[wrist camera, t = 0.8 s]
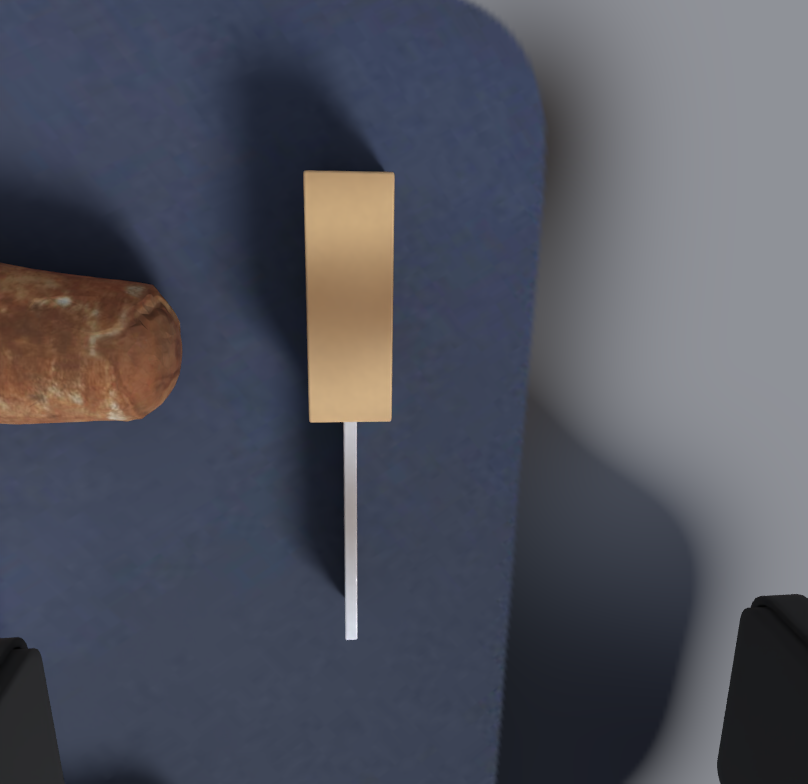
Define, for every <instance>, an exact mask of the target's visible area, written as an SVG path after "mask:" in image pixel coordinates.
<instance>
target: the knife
mask: <svg viewBox="0 0 808 784" xmlns="http://www.w3.org/2000/svg"><path fill="white" fill-rule="evenodd" d="M303 185H304V227H305V269H306V312H307V354H308V396H309V421H310V422H343V453H344V567H345V639H346V640H355V639H357V422H383V421H391V419H392V339H393V257H394V173H393V172H372V171H315V170H305V171H304V172H303Z"/></svg>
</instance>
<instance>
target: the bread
mask: <svg viewBox="0 0 808 784" xmlns="http://www.w3.org/2000/svg"><path fill="white" fill-rule="evenodd" d="M181 360H182V342H181V335H180V322H179V320H178V318H177V316H176V314H175V312H174V311H173V309H172V308H171V306H170V305H169V304H168V302H167V301H166V300H165V299H164V298H163V296H162V295H161V294H160V293H159V292H158V290H157V289H156V288H155V287H154V285H150V284H145V283H140V282H132V281H125V280H115V279H105V278H96V277H90V276H80V275H72V274H65V273H57V272H50V271H44V270H37V269H31V268H26V267H20V266H15V265H10V264H5V263H0V423H1V424H36V423H61V422H86V421H102V420H118V421H130V420H135V419H142V418H144V417H145V416H146V415H148V414H149V413H150V412H152V411H154V410H155V409H156V408H157V407H158V406H160V405H161V404H162V403H163V402H164V400H165V399H166V398H167V397H168V395H169V394H170V392H171V391H172V389H173V388H174V387H175V384H176V382H177V379H178V376H179V374H180V368H181Z"/></svg>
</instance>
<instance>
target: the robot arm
mask: <svg viewBox="0 0 808 784" xmlns="http://www.w3.org/2000/svg"><path fill="white" fill-rule="evenodd" d="M717 769H718V776H719V780H720V783H721V784H808V598H806V597H805V596H803V595H798V594H791V595H773V596H760V597H757V598H755V600H754V601H753V603H752V605H751V608H747V609H744V611H743V612H742V615H741V618H740V624H739V630H738V636H737V643H736V649H735V655H734V661H733V667H732V673H731V680H730V686H729V692H728V698H727V704H726V711H725V717H724V723H723V729H722V735H721V742H720V748H719V754H718V760H717ZM0 784H65V783H64V778H63V772H62V767H61V761H60V756H59V750H58V745H57V739H56V734H55V728H54V723H53V717H52V712H51V706H50V701H49V696H48V690H47V685H46V679H45V674H44V668H43V663H42V658H41V654H40V652H39V651H38V649H35V648H32V649H28V648H27V644H26V643H25V641H24V640H23V639H22V638H19V637H16V638H0Z"/></svg>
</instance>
